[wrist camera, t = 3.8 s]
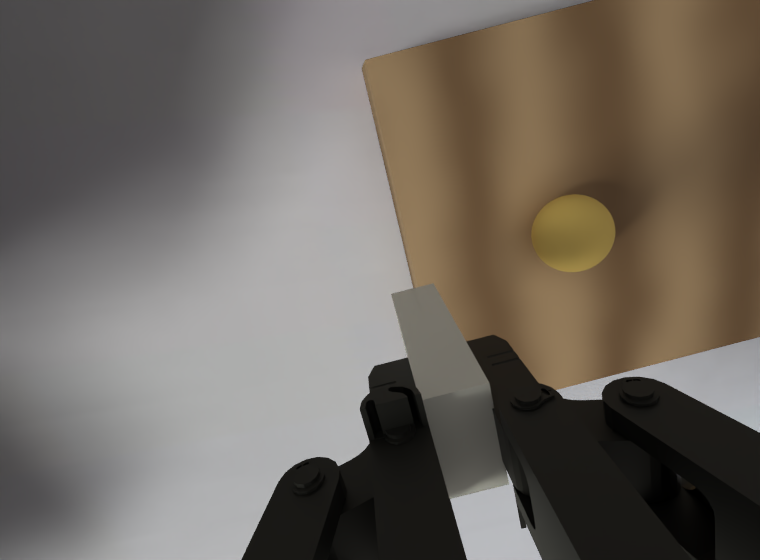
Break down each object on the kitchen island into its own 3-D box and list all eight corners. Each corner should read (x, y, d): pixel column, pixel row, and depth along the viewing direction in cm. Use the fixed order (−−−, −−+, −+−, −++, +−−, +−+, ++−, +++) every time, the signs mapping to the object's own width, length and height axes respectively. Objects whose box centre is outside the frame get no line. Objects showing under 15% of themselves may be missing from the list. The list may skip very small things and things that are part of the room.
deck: (437, 388, 28) (448, 418, 25) (361, 68, 22) (365, 59, 19) (920, 262, 28) (987, 277, 25) (976, -92, 22) (1072, -124, 19)
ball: (543, 273, 23) (577, 298, 19) (506, 221, 22) (535, 237, 18) (602, 230, 22) (647, 247, 19) (566, 174, 21) (607, 182, 18)
